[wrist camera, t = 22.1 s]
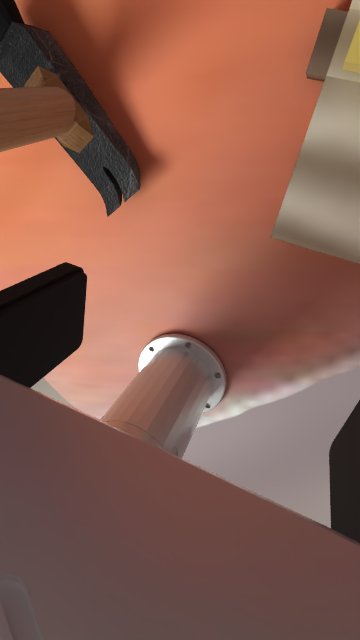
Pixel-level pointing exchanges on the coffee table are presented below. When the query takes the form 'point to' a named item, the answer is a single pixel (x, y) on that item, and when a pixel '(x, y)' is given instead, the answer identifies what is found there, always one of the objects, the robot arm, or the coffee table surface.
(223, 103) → the coffee table surface
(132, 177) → the hammer
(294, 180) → the board
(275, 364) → the coffee table surface
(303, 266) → the coffee table surface
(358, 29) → the block
